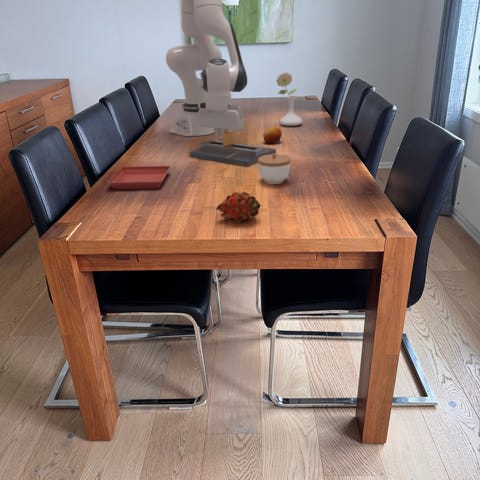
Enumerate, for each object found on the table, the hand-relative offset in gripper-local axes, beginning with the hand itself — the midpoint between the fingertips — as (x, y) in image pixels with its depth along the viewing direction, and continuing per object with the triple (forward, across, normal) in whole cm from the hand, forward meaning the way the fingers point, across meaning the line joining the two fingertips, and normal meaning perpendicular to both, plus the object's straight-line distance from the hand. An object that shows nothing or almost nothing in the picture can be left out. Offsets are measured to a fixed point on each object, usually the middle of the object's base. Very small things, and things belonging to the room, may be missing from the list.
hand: (221, 139), depth 187 cm
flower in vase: (+6, +3, -59) cm, 59 cm away
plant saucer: (+6, +3, +42) cm, 42 cm away
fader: (+4, -3, 0) cm, 5 cm away
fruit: (+6, -8, -25) cm, 27 cm away
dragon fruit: (+6, -45, +52) cm, 69 cm away
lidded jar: (+6, -36, +19) cm, 41 cm away
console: (+6, -5, 0) cm, 8 cm away
